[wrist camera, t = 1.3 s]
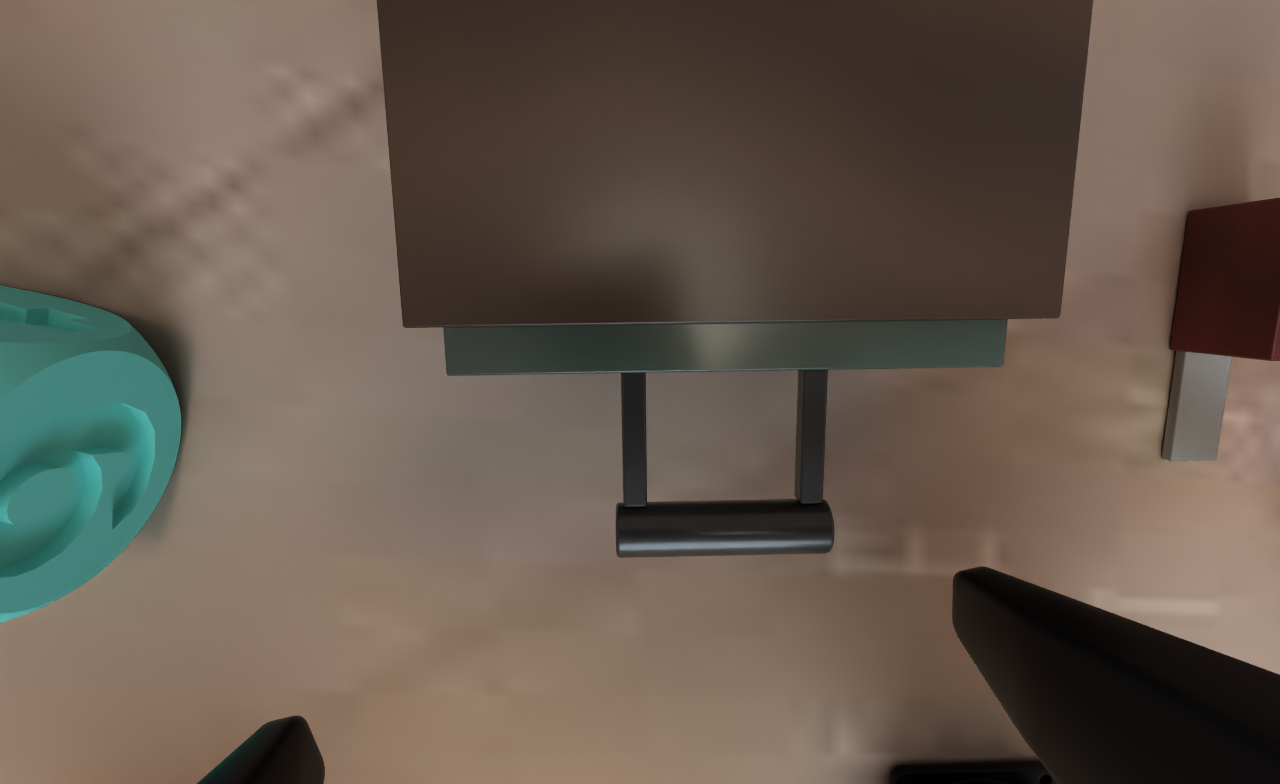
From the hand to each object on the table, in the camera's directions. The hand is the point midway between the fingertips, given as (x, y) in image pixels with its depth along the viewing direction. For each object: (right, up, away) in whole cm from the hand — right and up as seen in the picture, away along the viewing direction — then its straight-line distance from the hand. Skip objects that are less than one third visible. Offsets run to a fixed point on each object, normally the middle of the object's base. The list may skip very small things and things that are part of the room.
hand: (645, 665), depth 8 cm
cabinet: (+2, +12, +12) cm, 17 cm away
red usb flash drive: (+20, +6, +13) cm, 24 cm away
